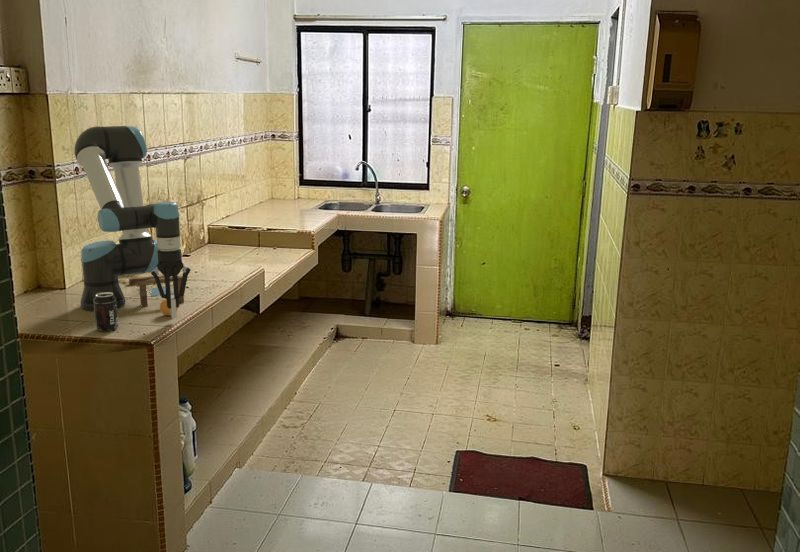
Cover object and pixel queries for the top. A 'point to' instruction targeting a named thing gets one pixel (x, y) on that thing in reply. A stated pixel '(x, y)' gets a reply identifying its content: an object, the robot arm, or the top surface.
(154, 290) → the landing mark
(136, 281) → the wall
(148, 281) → the bridge
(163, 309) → the ball
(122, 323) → the top surface
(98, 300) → the beverage can
